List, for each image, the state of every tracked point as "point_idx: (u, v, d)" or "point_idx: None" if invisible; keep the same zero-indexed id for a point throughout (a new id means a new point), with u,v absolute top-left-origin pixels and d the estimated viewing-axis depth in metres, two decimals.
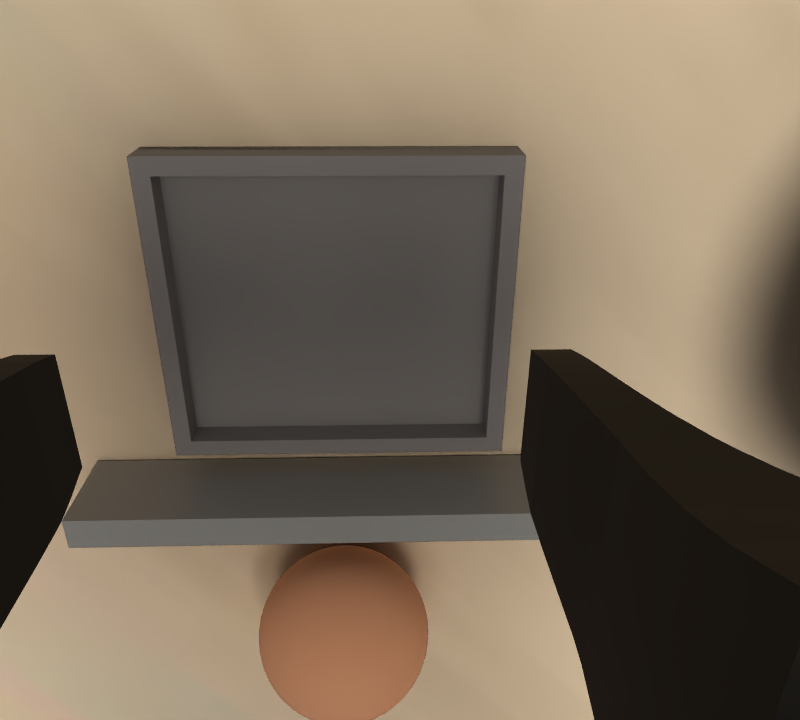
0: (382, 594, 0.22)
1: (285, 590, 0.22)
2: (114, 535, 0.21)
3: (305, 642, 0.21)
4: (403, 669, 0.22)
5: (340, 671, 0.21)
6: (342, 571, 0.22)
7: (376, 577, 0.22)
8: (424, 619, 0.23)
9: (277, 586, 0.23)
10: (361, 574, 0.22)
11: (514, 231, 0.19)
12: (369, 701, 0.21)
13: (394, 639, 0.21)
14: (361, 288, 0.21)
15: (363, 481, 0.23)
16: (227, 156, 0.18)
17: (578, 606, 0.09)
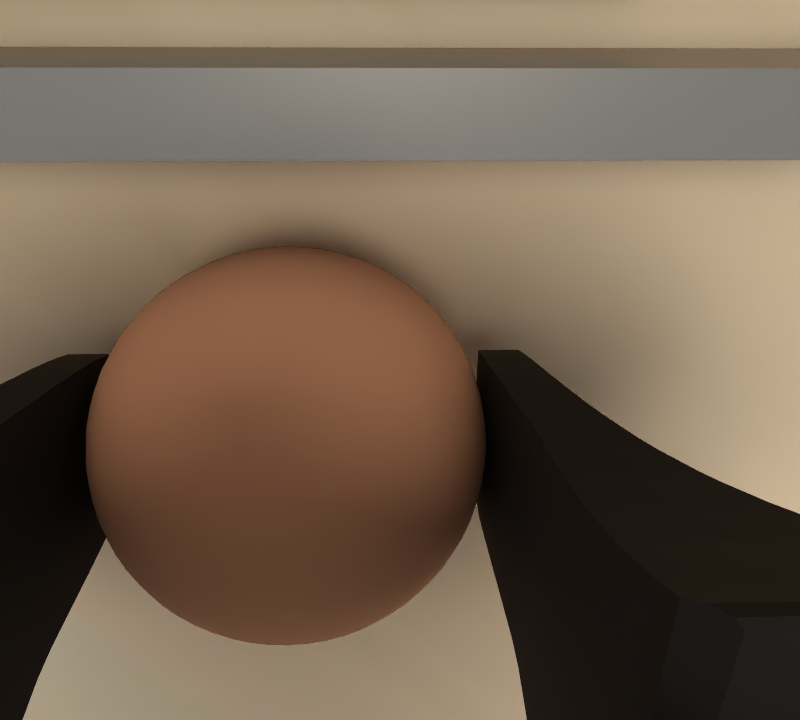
0: (380, 309, 0.09)
1: (143, 312, 0.09)
2: None
3: (172, 406, 0.08)
4: (434, 493, 0.08)
5: (264, 480, 0.08)
6: (281, 261, 0.09)
7: (365, 278, 0.09)
8: (479, 399, 0.10)
9: None
10: (328, 268, 0.09)
11: None
12: (343, 568, 0.08)
13: (411, 410, 0.08)
14: None
15: (334, 55, 0.09)
16: None
17: (515, 607, 0.09)
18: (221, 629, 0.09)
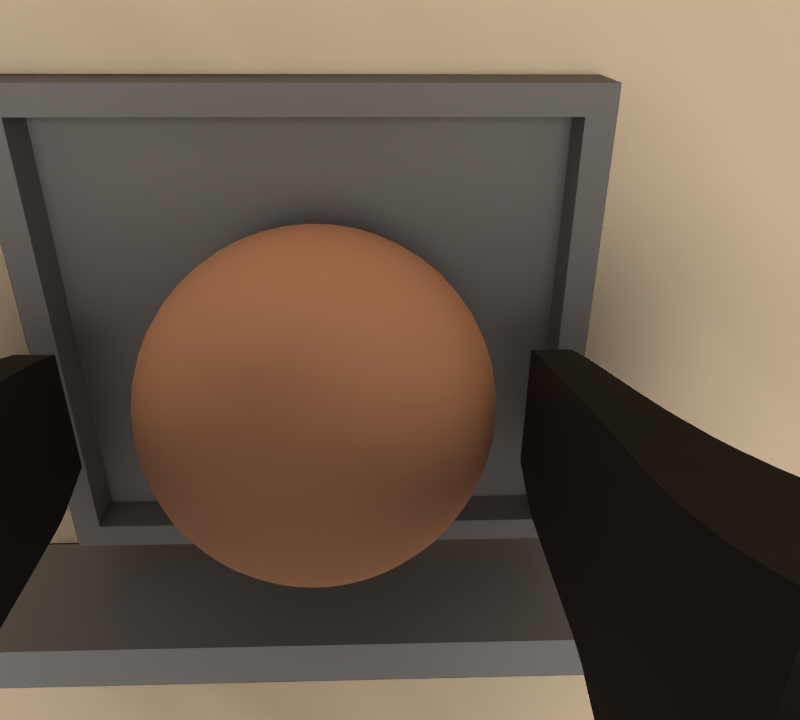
0: (406, 273, 0.10)
1: (183, 287, 0.10)
2: None
3: (234, 366, 0.09)
4: (466, 433, 0.10)
5: (325, 425, 0.09)
6: (311, 235, 0.10)
7: (387, 248, 0.10)
8: (488, 354, 0.11)
9: None
10: (355, 240, 0.10)
11: (596, 210, 0.12)
12: (394, 503, 0.09)
13: (444, 360, 0.09)
14: None
15: None
16: (128, 83, 0.11)
17: (578, 606, 0.09)
18: (278, 571, 0.10)
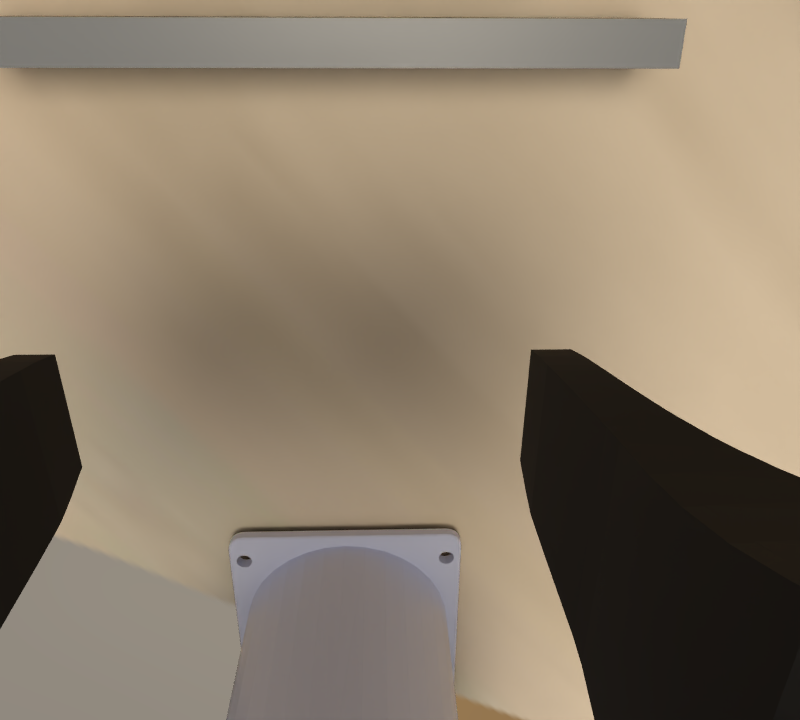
0: None
1: None
2: (11, 46, 0.15)
3: None
4: None
5: None
6: None
7: None
8: None
9: None
10: None
11: None
12: None
13: None
14: None
15: None
16: None
17: (578, 606, 0.09)
18: None
